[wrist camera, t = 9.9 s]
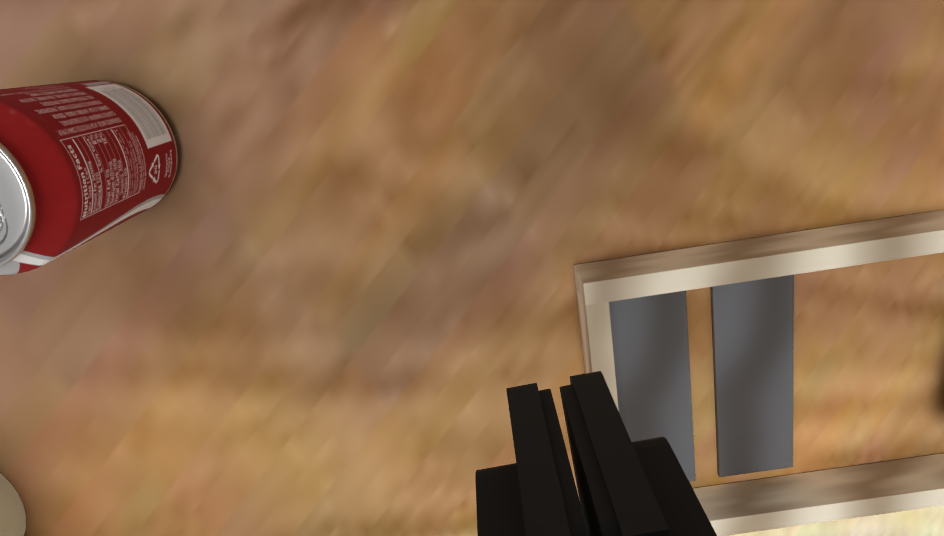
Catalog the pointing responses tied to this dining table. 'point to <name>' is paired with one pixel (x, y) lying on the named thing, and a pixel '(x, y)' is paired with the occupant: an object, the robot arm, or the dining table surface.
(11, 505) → the reusable coffee cup
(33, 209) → the soda can
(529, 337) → the dining table surface
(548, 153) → the dining table surface
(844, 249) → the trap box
